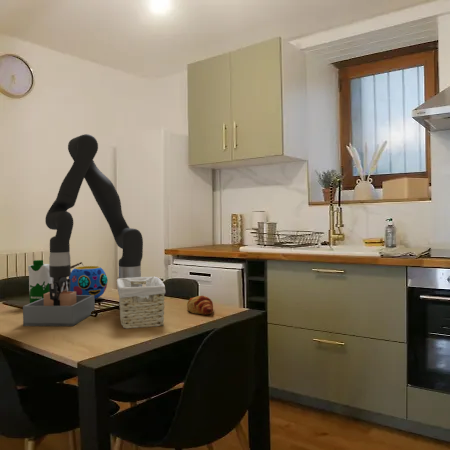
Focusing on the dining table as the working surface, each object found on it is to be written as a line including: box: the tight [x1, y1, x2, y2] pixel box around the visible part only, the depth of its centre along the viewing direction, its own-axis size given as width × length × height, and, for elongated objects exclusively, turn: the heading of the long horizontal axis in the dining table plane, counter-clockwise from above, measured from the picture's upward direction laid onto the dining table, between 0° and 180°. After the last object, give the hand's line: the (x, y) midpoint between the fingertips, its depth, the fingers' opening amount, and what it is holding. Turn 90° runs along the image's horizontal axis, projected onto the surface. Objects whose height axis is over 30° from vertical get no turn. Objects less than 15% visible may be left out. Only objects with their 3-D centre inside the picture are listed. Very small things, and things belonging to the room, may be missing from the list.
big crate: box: [22, 295, 96, 327], centre depth 170 cm, size 18×22×7 cm
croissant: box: [186, 295, 214, 316], centre depth 181 cm, size 21×10×8 cm, turn 26°
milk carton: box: [27, 259, 52, 304], centre depth 195 cm, size 9×9×20 cm
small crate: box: [44, 292, 76, 306], centre depth 170 cm, size 10×6×7 cm, turn 87°
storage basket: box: [116, 276, 166, 329], centre depth 165 cm, size 24×16×15 cm
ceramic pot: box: [68, 265, 108, 300], centre depth 209 cm, size 18×18×15 cm
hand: (60, 308), depth 170 cm, fingers closed on small crate, 6 cm apart
